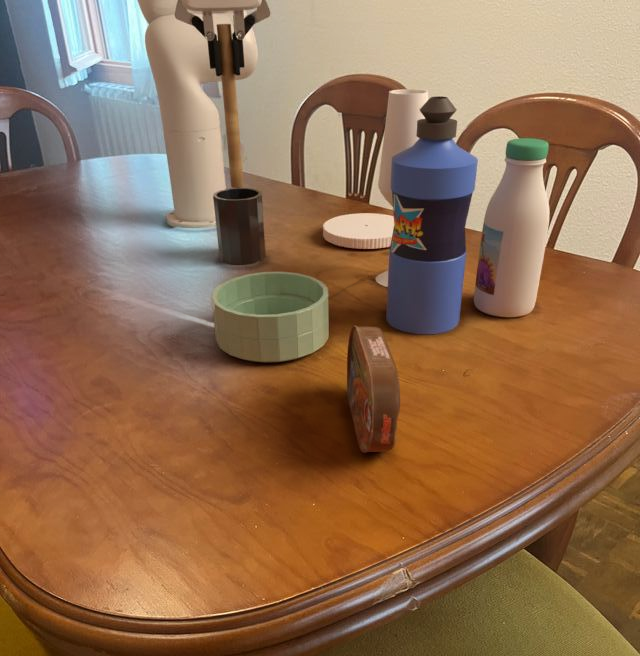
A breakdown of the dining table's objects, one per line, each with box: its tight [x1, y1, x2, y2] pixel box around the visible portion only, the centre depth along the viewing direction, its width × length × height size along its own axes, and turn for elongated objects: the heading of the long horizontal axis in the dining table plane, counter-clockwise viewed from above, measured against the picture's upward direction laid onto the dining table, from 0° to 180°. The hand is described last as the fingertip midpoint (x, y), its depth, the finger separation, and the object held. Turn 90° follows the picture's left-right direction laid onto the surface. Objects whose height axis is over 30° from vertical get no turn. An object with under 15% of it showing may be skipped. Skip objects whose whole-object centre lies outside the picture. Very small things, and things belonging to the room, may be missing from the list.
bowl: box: [210, 271, 330, 364], centre depth 76 cm, size 13×13×6 cm
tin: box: [346, 325, 401, 454], centre depth 60 cm, size 15×3×8 cm, turn 5°
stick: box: [217, 24, 245, 188], centre depth 89 cm, size 2×2×20 cm
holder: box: [213, 187, 267, 266], centre depth 98 cm, size 7×7×10 cm
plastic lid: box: [322, 212, 394, 250], centre depth 107 cm, size 14×14×2 cm
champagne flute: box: [375, 88, 429, 288], centre depth 87 cm, size 7×7×24 cm
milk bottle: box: [473, 137, 551, 318], centre depth 79 cm, size 8×8×20 cm
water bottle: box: [386, 95, 479, 335], centre depth 75 cm, size 9×9×25 cm
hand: (227, 73), depth 87 cm, fingers closed on stick, 1 cm apart
